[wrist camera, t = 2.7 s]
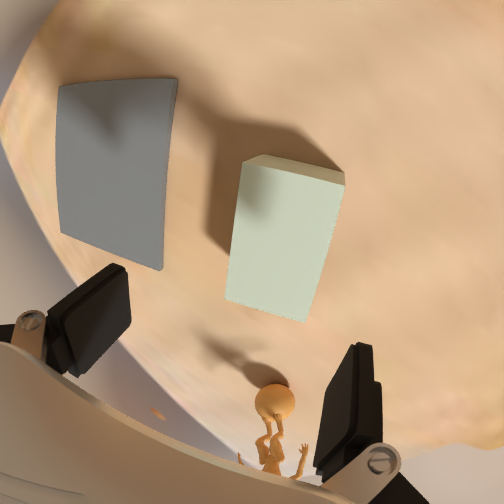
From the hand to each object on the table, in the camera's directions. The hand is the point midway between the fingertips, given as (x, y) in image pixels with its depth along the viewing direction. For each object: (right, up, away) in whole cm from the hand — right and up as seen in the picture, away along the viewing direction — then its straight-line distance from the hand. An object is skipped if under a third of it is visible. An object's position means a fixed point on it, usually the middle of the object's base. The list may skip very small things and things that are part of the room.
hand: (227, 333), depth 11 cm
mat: (-12, +11, +12) cm, 20 cm away
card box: (+4, +5, +10) cm, 12 cm away
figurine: (+5, -12, +17) cm, 21 cm away
